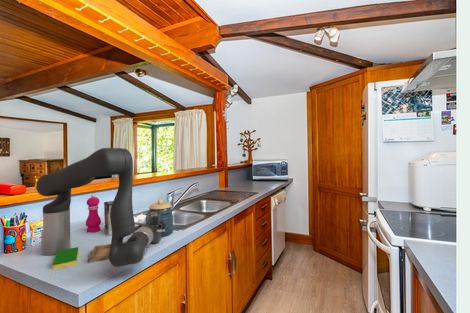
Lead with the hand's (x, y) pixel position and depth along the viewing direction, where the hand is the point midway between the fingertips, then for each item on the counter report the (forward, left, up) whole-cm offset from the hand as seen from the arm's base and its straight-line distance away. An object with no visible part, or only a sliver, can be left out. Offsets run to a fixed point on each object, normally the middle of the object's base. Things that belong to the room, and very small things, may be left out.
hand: (155, 223), depth 109 cm
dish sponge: (-34, -6, -8) cm, 35 cm away
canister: (+3, +9, -8) cm, 12 cm away
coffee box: (-20, +22, -8) cm, 30 cm away
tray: (-19, -7, -8) cm, 22 cm away
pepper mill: (-30, +30, -8) cm, 43 cm away
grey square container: (-1, -2, -7) cm, 7 cm away
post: (-1, -2, -8) cm, 8 cm away
